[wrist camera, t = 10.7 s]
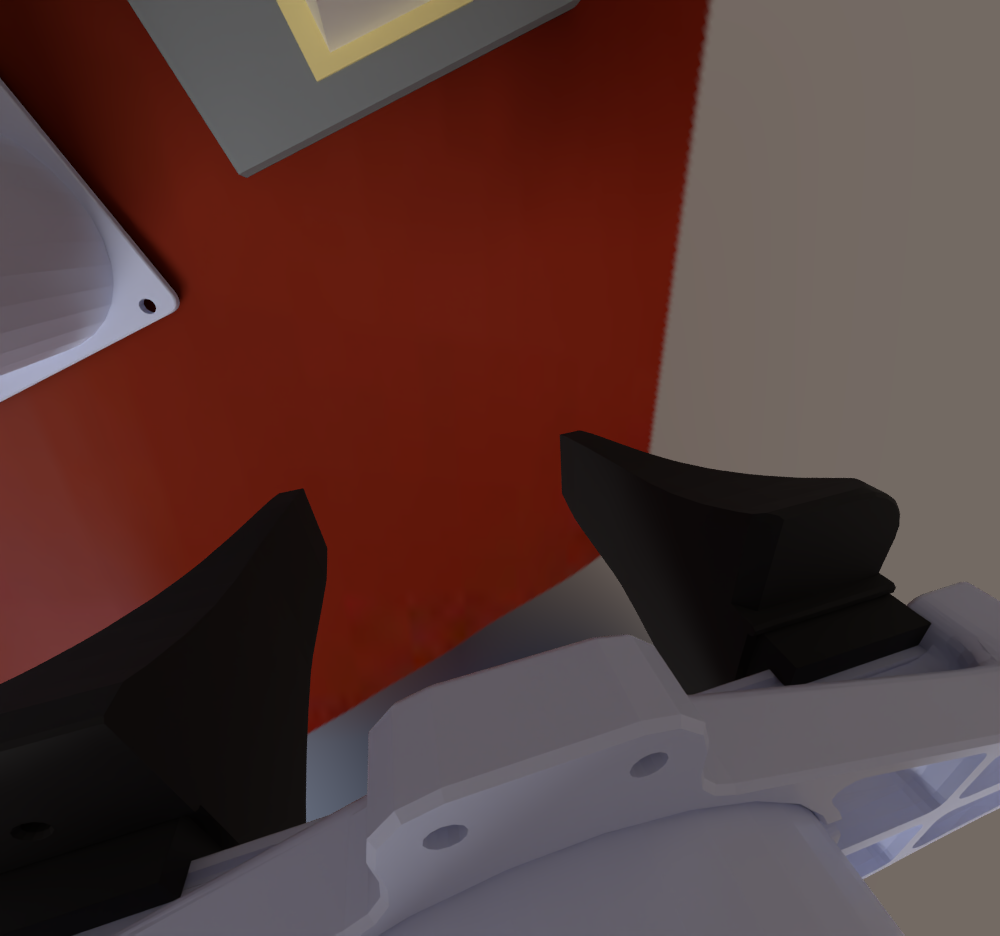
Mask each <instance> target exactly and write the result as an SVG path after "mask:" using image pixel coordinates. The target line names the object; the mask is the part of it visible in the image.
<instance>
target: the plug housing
mask: <svg viewBox="0 0 1000 936" xmlns="http://www.w3.org/2000/svg"><path fill="white" fill-rule="evenodd" d="M305 1H306V3H307V5H308V7H309V9H310V11H311V13H312V15H313V17H314V20H315V22H316V24H317V26H318V28H319V30H320V32H321V34H322V36H323V39H324V41H325V43H326V45H327V47H328V49H329V51H330V53H331V52H333V51H335V50H337V49H338V48H340V47H342V46H344V45H346V44H348V43H350V42H352V41H354V40H356V39H358V38H360V37H362V36H363V35H365V34H367V33H369V32H371V31H373V30H375V29H377V28H379V27H381V26H383V25H385V24H387V23H388V22H390V21H392V20H394V19H396V18H398V17H400V16H402V15H404V14H406V13H408V12H410V11H412V10H413V9H415V8H417V7H419V6H421V5H423V4H425V3H427V2H429V1H431V0H305Z"/></svg>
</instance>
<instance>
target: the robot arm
mask: <svg viewBox="0 0 1000 936" xmlns="http://www.w3.org/2000/svg"><path fill="white" fill-rule="evenodd" d="M145 299H149V300H151V301H152V302H153V303H154V304H155V306H156V311H155V312H151V311H149V310H148V309H146V307H145V305H144V300H145ZM179 304H180V302H179V297H178V296H177V294H176V292H175V291H174V290H173V289H172V288H171V286H170V285H169V284H168V283H167V281H166V280H165V279H164V278H163V277H162V275H161V274H160V273H159V272H158V270H157V269H156V268H155V267H154V266H153V264H152V263H151V262H150V261H149V259H148V258H147V257H146V256H145V254H144V253H143V252H142V251H141V250H140V248H139V247H138V246H137V245H136V243H135V242H134V241H133V240H132V239H131V237H130V236H129V235H128V234H127V232H126V231H125V230H124V229H123V228H122V226H121V225H120V224H119V223H118V221H117V220H116V219H115V218H114V217H113V215H112V214H111V213H110V212H109V210H108V209H107V208H106V207H105V206H104V204H103V203H102V202H101V201H100V199H99V198H98V197H97V196H96V195H95V193H94V192H93V191H92V190H91V188H90V187H89V186H88V185H87V184H86V182H85V181H84V180H83V179H82V177H81V176H80V175H79V174H78V173H77V171H76V170H75V169H74V168H73V166H72V165H71V164H70V163H69V162H68V160H67V159H66V158H65V157H64V155H63V154H62V153H61V152H60V151H59V149H58V148H57V147H56V146H55V144H54V143H53V142H52V141H51V140H50V138H49V137H48V136H47V135H46V133H45V132H44V131H43V130H42V129H41V127H40V126H39V125H38V124H37V122H36V121H35V120H34V119H33V117H32V116H31V115H30V114H29V113H28V111H27V110H26V109H25V108H24V106H23V105H22V104H21V103H20V102H19V100H18V99H17V98H16V97H15V95H14V94H13V93H12V92H11V91H10V89H9V88H8V87H7V86H6V84H5V83H4V82H3V81H2V80H1V78H0V402H2V401H3V400H5V399H7V398H9V397H11V396H13V395H15V394H17V393H19V392H21V391H23V390H25V389H27V388H28V387H30V386H32V385H34V384H36V383H38V382H40V381H42V380H44V379H46V378H48V377H50V376H52V375H53V374H55V373H57V372H59V371H61V370H63V369H65V368H67V367H69V366H71V365H73V364H75V363H77V362H78V361H80V360H82V359H84V358H86V357H88V356H90V355H92V354H94V353H96V352H98V351H100V350H102V349H103V348H105V347H107V346H109V345H111V344H113V343H115V342H117V341H119V340H121V339H123V338H125V337H127V336H128V335H130V334H132V333H134V332H136V331H138V330H140V329H142V328H144V327H146V326H148V325H150V324H152V323H153V322H155V321H157V320H159V319H161V318H163V317H165V316H167V315H169V314H171V313H173V312H175V311H176V310H177V309H178V307H179ZM560 449H561V476H562V494H563V496H564V498H565V500H566V502H567V504H568V506H569V508H570V510H571V512H572V514H573V516H574V518H575V519H576V521H577V522H578V524H579V525H580V527H581V528H582V530H583V531H584V532H585V534H586V535H587V537H588V538H589V539H590V541H591V542H592V544H593V545H594V546H595V548H596V549H597V551H598V552H599V553H600V555H601V556H602V557H603V559H604V560H605V562H606V563H607V564H608V566H609V567H610V569H611V570H612V571H613V573H614V574H615V576H616V577H617V579H618V580H619V582H620V583H621V585H622V587H623V588H624V590H625V592H626V594H627V596H628V597H629V599H630V601H631V602H632V604H633V606H634V608H635V610H636V612H637V614H638V615H639V617H640V619H641V621H642V623H643V625H644V627H645V629H646V631H647V633H648V634H649V636H650V638H651V640H652V642H653V644H654V645H652V644H649V643H647V642H645V641H643V640H641V639H639V638H636V637H634V636H632V635H624V634H623V635H614V636H604V637H595V638H590V639H587V640H583V641H580V642H577V643H573V644H570V645H567V646H563V647H560V648H556V649H553V650H550V651H546V652H543V653H539V654H536V655H533V656H529V657H526V658H523V659H519V660H516V661H513V662H509V663H505V664H502V665H499V666H495V667H492V668H489V669H485V670H482V671H478V672H475V673H472V674H468V675H465V676H462V677H458V678H455V679H451V680H448V681H445V682H441V683H438V684H434V685H431V686H429V687H427V688H425V689H423V690H420V691H418V692H416V693H414V694H412V695H410V696H408V697H406V698H404V699H402V700H400V701H398V702H396V703H395V704H394V705H393V706H392V707H391V708H390V709H389V710H388V711H387V712H386V713H385V714H384V716H383V717H382V718H381V719H380V720H379V721H378V722H377V723H376V725H375V726H374V727H373V728H372V729H371V730H370V731H369V739H368V741H369V742H368V743H369V744H368V790H367V792H368V793H367V795H365V796H364V797H362V798H360V799H358V800H356V801H354V802H353V803H351V804H349V805H347V806H345V807H344V808H342V809H340V810H338V811H336V812H334V813H333V814H331V815H329V816H325V817H323V818H319V819H316V820H314V821H311V822H307V823H306V758H307V756H306V755H307V754H306V753H307V730H308V707H309V692H310V676H311V666H312V659H313V652H314V647H315V641H316V636H317V630H318V625H319V619H320V614H321V609H322V603H323V597H324V592H325V586H326V579H327V546H326V544H325V541H324V539H323V536H322V534H321V531H320V529H319V526H318V524H317V521H316V519H315V516H314V514H313V511H312V509H311V507H310V504H309V502H308V499H307V497H306V494H305V492H304V489H298V490H294V491H289V492H284V493H279V494H278V495H276V496H275V497H274V498H273V499H271V500H270V501H269V502H268V503H267V504H266V505H265V506H263V507H262V508H261V509H260V510H259V511H258V512H257V513H256V514H255V515H254V516H253V517H252V518H251V519H249V520H248V521H247V522H246V523H245V524H244V525H243V526H242V527H241V528H240V529H239V530H238V531H237V532H235V533H234V534H233V535H232V536H231V537H230V538H229V539H228V540H227V541H225V542H224V543H223V544H222V545H221V546H220V547H218V548H217V549H216V550H215V551H214V552H212V553H211V554H210V555H209V556H208V557H207V558H205V559H204V560H203V561H202V562H201V563H200V564H198V565H197V566H196V567H195V568H193V569H192V570H191V571H190V572H188V573H187V574H186V575H184V576H183V577H182V578H180V579H179V580H178V581H176V582H175V583H173V584H172V585H171V586H169V587H168V588H166V589H165V590H164V591H162V592H161V593H160V594H158V595H157V596H155V597H154V598H152V599H151V600H149V601H148V602H146V603H145V604H143V605H141V606H140V607H138V608H137V609H135V610H133V611H132V612H130V613H129V614H127V615H126V616H124V617H122V618H121V619H119V620H118V621H116V622H114V623H113V624H111V625H110V626H108V627H107V628H105V629H103V630H102V631H100V632H98V633H96V634H95V635H93V636H91V637H89V638H88V639H86V640H84V641H82V642H81V643H79V644H77V645H75V646H74V647H72V648H70V649H68V650H66V651H64V652H62V653H61V654H59V655H57V656H55V657H53V658H51V659H49V660H48V661H46V662H44V663H42V664H40V665H38V666H36V667H34V668H32V669H30V670H28V671H26V672H24V673H23V674H20V675H18V676H16V677H14V678H12V679H10V680H8V681H6V682H4V683H2V684H0V936H905V935H904V933H903V932H902V931H901V929H900V928H899V927H898V925H897V924H896V923H895V921H894V920H893V919H892V917H891V916H890V915H889V914H888V912H887V911H886V909H885V908H884V907H883V905H882V904H881V903H880V902H879V900H878V899H877V897H876V896H875V895H874V894H873V892H872V891H871V889H870V888H869V887H868V886H867V884H866V883H865V881H864V880H863V879H864V878H866V877H868V876H870V875H872V874H874V873H876V872H877V871H879V870H881V869H883V868H885V867H887V866H889V865H890V864H893V863H894V862H896V861H898V860H900V859H902V858H904V857H906V856H907V855H910V854H911V853H913V852H915V851H917V850H919V849H921V848H923V847H925V846H926V845H928V844H930V843H932V842H934V841H936V840H938V839H940V838H942V837H943V836H945V835H947V834H949V833H951V832H953V831H955V830H957V829H959V828H961V827H963V826H965V825H967V824H969V823H971V822H973V821H975V820H976V819H978V818H980V817H982V816H984V815H986V814H988V813H990V812H992V811H995V810H997V809H999V808H1000V601H999V600H997V599H996V598H994V597H992V596H990V595H989V594H987V593H985V592H984V591H982V590H980V589H979V588H977V587H975V586H974V585H972V584H970V583H968V582H959V583H956V584H953V585H950V586H947V587H944V588H940V589H937V590H934V591H931V592H928V593H925V594H922V595H920V596H918V597H916V598H915V599H913V600H912V601H911V602H910V603H909V604H908V605H907V606H906V605H905V604H903V603H902V602H900V601H899V600H898V599H896V598H895V597H894V596H892V595H891V594H890V593H893V592H894V590H895V588H896V587H895V585H894V583H893V582H891V581H890V580H888V579H887V578H886V577H884V576H883V575H881V574H880V573H879V571H880V569H881V566H882V564H883V562H884V560H885V558H886V556H887V554H888V552H889V549H890V547H891V545H892V543H893V541H894V539H895V536H896V533H897V530H898V527H899V518H900V513H899V508H898V506H897V503H896V501H895V500H894V499H893V498H892V497H890V496H889V495H888V494H886V493H884V492H882V491H880V490H878V489H876V488H874V487H872V486H870V485H868V484H866V483H865V482H862V481H860V480H858V479H855V478H793V477H777V476H763V475H752V474H743V473H735V472H729V471H721V470H715V469H709V468H704V467H699V466H695V465H690V464H685V463H680V462H677V461H673V460H669V459H665V458H662V457H659V456H655V455H652V454H649V453H646V452H642V451H639V450H636V449H634V448H631V447H628V446H625V445H622V444H619V443H617V442H614V441H611V440H608V439H606V438H603V437H600V436H597V435H594V434H591V433H588V432H584V431H575V432H570V433H566V434H561V435H560ZM654 646H655V647H654Z"/></svg>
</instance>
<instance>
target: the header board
mask: <svg viewBox="0 0 1000 936" xmlns="http://www.w3.org/2000/svg"><path fill="white" fill-rule="evenodd" d="M579 1H580V0H431V1H429V2H427V3H425V4H423V5H421V6H419V7H417V8H415V9H413V10H412V11H410V12H408V13H406V14H404V15H402V16H400V17H398V18H396V19H394V20H392V21H390V22H388V23H387V24H385V25H383V26H381V27H379V28H377V29H375V30H373V31H371V32H369V33H367V34H365V35H363V36H362V37H360V38H358V39H356V40H354V41H352V42H350V43H348V44H346V45H344V46H342V47H340V48H338V49H337V50H335V51H333V52H331V53H330V51H329V49H328V47H327V45H326V43H325V41H324V39H323V36H322V34H321V32H320V30H319V28H318V26H317V24H316V22H315V20H314V17H313V15H312V13H311V11H310V9H309V7H308V5H307V3H306V1H305V0H128V2H129V3H130V5H131V7H132V8H133V10H134V11H135V13H136V14H137V16H138V18H139V19H140V21H141V22H142V24H143V25H144V27H145V28H146V30H147V32H148V33H149V35H150V36H151V38H152V39H153V41H154V43H155V44H156V46H157V47H158V49H159V50H160V52H161V53H162V55H163V57H164V58H165V60H166V61H167V63H168V64H169V66H170V68H171V69H172V71H173V72H174V74H175V75H176V77H177V78H178V80H179V82H180V83H181V85H182V86H183V88H184V89H185V91H186V92H187V94H188V96H189V97H190V99H191V100H192V102H193V103H194V105H195V107H196V108H197V110H198V111H199V113H200V114H201V116H202V117H203V119H204V121H205V122H206V124H207V125H208V127H209V128H210V130H211V132H212V133H213V135H214V136H215V138H216V139H217V141H218V142H219V144H220V146H221V147H222V149H223V150H224V152H225V153H226V155H227V157H228V158H229V160H230V161H231V163H232V164H233V166H234V167H235V169H236V171H237V172H238V174H239V175H242V176H244V177H246V178H247V177H249V176H251V175H253V174H255V173H257V172H259V171H261V170H263V169H265V168H266V167H268V166H270V165H272V164H274V163H276V162H278V161H280V160H282V159H284V158H286V157H288V156H290V155H291V154H293V153H295V152H297V151H299V150H301V149H303V148H305V147H307V146H309V145H311V144H313V143H315V142H316V141H318V140H320V139H322V138H324V137H326V136H328V135H330V134H332V133H334V132H336V131H338V130H340V129H341V128H343V127H345V126H347V125H349V124H351V123H353V122H355V121H357V120H359V119H361V118H363V117H365V116H366V115H368V114H370V113H372V112H374V111H376V110H378V109H380V108H382V107H384V106H386V105H388V104H390V103H391V102H393V101H395V100H397V99H399V98H401V97H403V96H405V95H407V94H409V93H411V92H413V91H415V90H416V89H418V88H420V87H422V86H424V85H426V84H428V83H430V82H432V81H434V80H436V79H438V78H440V77H442V76H443V75H445V74H447V73H449V72H451V71H453V70H455V69H457V68H459V67H461V66H463V65H465V64H467V63H468V62H470V61H472V60H474V59H476V58H478V57H480V56H482V55H484V54H486V53H488V52H490V51H492V50H493V49H495V48H497V47H499V46H501V45H503V44H505V43H507V42H509V41H511V40H513V39H515V38H517V37H518V36H520V35H522V34H524V33H526V32H528V31H530V30H532V29H534V28H536V27H538V26H540V25H542V24H543V23H545V22H547V21H549V20H551V19H553V18H555V17H557V16H559V15H561V14H563V13H565V12H567V11H568V10H570V9H572V8H574V7H575V6H576V5H577V4H578V3H579Z"/></svg>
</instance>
